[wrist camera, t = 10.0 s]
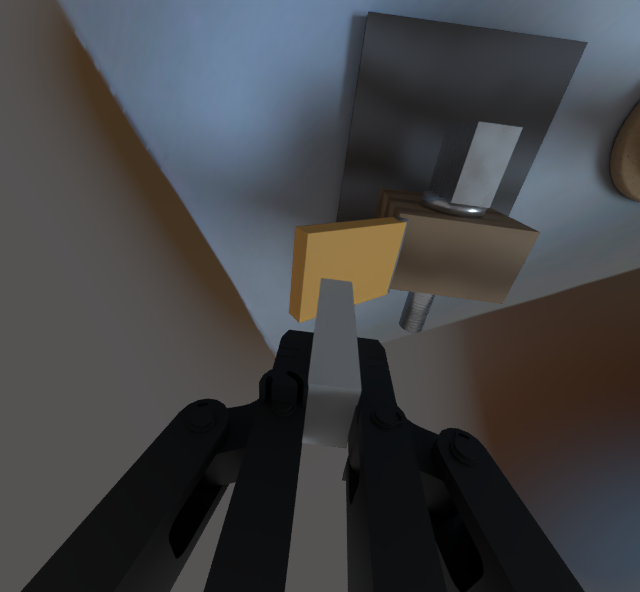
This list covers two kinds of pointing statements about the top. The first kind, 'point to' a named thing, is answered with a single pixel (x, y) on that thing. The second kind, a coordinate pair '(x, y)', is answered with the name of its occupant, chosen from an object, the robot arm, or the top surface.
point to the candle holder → (627, 157)
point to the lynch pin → (463, 187)
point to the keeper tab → (344, 260)
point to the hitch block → (427, 135)
